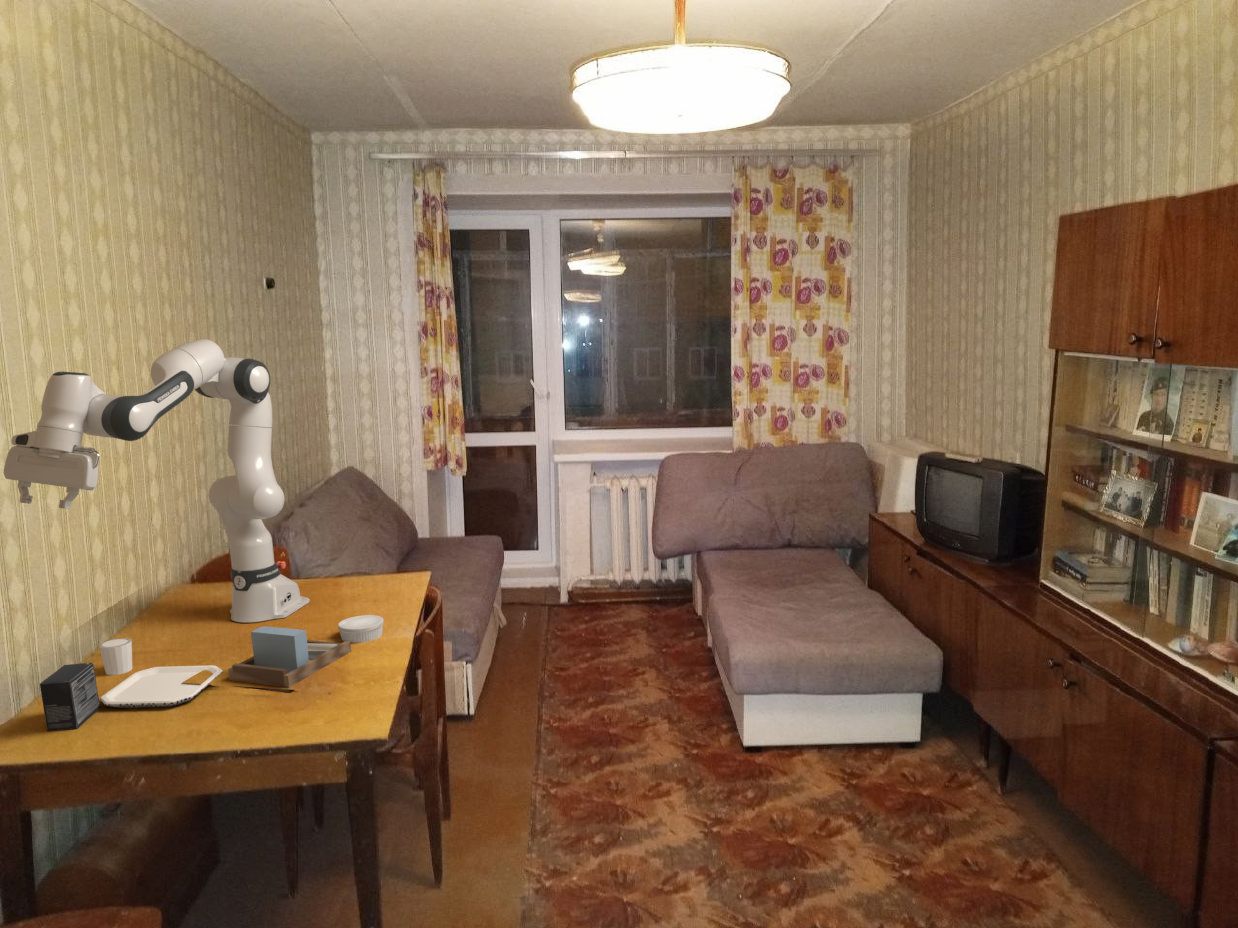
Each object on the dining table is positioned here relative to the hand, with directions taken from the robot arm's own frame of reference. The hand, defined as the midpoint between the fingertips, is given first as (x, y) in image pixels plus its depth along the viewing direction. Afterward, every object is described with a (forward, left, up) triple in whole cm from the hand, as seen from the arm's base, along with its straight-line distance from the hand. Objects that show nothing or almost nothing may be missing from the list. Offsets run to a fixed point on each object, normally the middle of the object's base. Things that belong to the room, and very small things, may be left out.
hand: (44, 505), depth 203 cm
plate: (-7, +20, -43) cm, 48 cm away
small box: (+10, +13, -43) cm, 46 cm away
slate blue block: (-21, +41, -43) cm, 63 cm away
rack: (-25, +41, -43) cm, 64 cm away
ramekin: (-46, +45, -43) cm, 77 cm away
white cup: (-14, -1, -43) cm, 45 cm away
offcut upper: (-31, +41, -42) cm, 66 cm away
